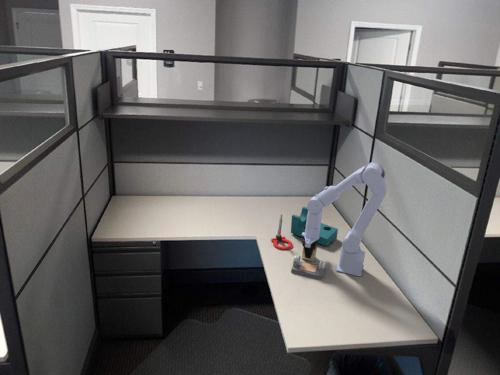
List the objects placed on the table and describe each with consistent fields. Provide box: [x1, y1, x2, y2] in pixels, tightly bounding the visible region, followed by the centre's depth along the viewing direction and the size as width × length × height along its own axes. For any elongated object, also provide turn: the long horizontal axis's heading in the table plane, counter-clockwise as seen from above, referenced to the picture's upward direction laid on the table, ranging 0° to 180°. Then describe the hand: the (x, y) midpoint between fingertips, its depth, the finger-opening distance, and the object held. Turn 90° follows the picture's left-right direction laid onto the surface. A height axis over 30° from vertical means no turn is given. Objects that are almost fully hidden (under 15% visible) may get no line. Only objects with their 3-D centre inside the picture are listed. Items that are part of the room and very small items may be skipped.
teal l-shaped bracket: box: [290, 206, 339, 247], centre depth 184 cm, size 18×11×10 cm, turn 54°
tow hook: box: [270, 214, 294, 251], centre depth 174 cm, size 8×13×9 cm
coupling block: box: [301, 246, 318, 262], centre depth 167 cm, size 5×4×5 cm
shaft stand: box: [290, 254, 327, 281], centre depth 157 cm, size 12×7×6 cm, turn 70°
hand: (309, 255), depth 167 cm, fingers closed on coupling block, 4 cm apart
